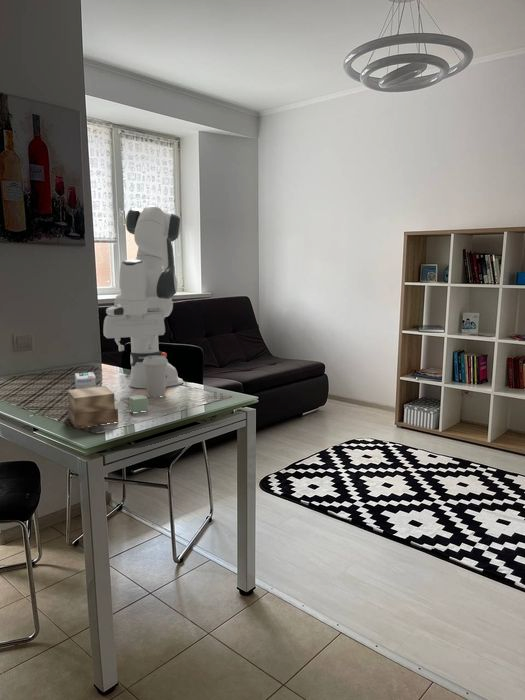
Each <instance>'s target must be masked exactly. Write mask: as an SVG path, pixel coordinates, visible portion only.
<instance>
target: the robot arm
mask: <svg viewBox="0 0 525 700" xmlns="http://www.w3.org/2000/svg"><path fill="white" fill-rule="evenodd" d="M124 222H125V223H124V224H125V227H126V230H127V232H128V233H130V234H132V235H133V236H134V242H135V245H137V247H138V249H137V253H136V258H135V259H132V258H131V259H125V260H122V261H121V263H120V267H119V279H118V281H119V289H120V293H118V294H117V295H116V297H115V298H114V302H113V303H114V305H113V306H109V307H107V308H106V309H105V313H106V314H107V315H106V316H105V317H104V320H103V330H102V332H103V336H104V337H105V338H106V339H114V342H115V343H116V345H117V346H118V352H124V351H125V345H123V344H121V343H120V342H121V338H123V339H124V338H130V346H131V347H130V349H131V350H130V351H131V352H130V366H131V370H130V377H129V382H128V386H129V387H130V388H136V389H147V385H146V377H145V369H144V364H143V360H144V358H145V357H147V356H165V357H166V358H167V357H168V354H167V352H165V351H164V352H163V351H160V350H159V336H164V335H165V333H166V326H165V318H166V317H167V318H168V317H169V316H170V315H171V314H172V311H173V308H174V302H173V299H172V297H174V296H175V295H176V294H177V292H178V280H177V276H176V270H175V257H174V256H175V255H174V251H173V250H174V248H173V244H172V242H174V241H175V240H177V239H178V238H179V236H180V234H181V232H182V227H183V226H182V222H181V218H180V216H179V215H176V214H174V213H168V212H166V211H164V210H162V209H161V208H160V207H159V206H156V205H148V206H146V207H144V208H139V207H136V208H135V207H134V208H130V209H129V210H128V212H127V214H126V215H125V219H124ZM182 383H183V384H184V380H183V378H180V377H179V376H178V371H177V369H176V367H175V366H173V365H172V364H171V363H169V362H168V363H167V369H166V386H165V388H167V387H173V386H178V385H179V386H180V385H182Z"/></svg>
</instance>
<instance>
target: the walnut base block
mask: <svg viewBox="0 0 525 700" xmlns="http://www.w3.org/2000/svg"><path fill="white" fill-rule="evenodd" d="M67 412H68V413H67V414H68V415H67V416H68V420H69V419H70V420H71V421H70V420H69V421H70V423H71V422H72V423H71V425H72V424H73V425H74V426H73V425H72V426H73V428H74V427H75V428H82V427H88V426H94V425H101V424H107V423H114V422H118V423H119V409H118V408H117V407H116V406H115V409H110V410H103V411H95V412H88V413H80V414H75V413H74V412H73V410H72V409H71V408H70V406H69V404H67ZM75 428H74V429H75ZM82 429H83V428H82Z"/></svg>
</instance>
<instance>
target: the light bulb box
mask: <svg viewBox="0 0 525 700" xmlns="http://www.w3.org/2000/svg"><path fill="white" fill-rule="evenodd" d="M74 387H75V388H74V389H83V388H92V387H97V377H96V375H95V373H94V371H89V372H78V373H74Z"/></svg>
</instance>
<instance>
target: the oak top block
mask: <svg viewBox="0 0 525 700" xmlns="http://www.w3.org/2000/svg"><path fill="white" fill-rule="evenodd" d="M67 399H68V400H67V401H68V402H67V403H68V404H67V405H69V406H70V408H71V409H72V410H73V412H74V413H75V414H80V413H88V412H95V411H103V410H110V409H115V407H116V404H115V402H116V399H115V393H114V392H113V391H112V390H111V389H110V388H108V387H107V386H106V385H103V386H96V387H92V388H83V389H75V388H74V389H68V390H67Z"/></svg>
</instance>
